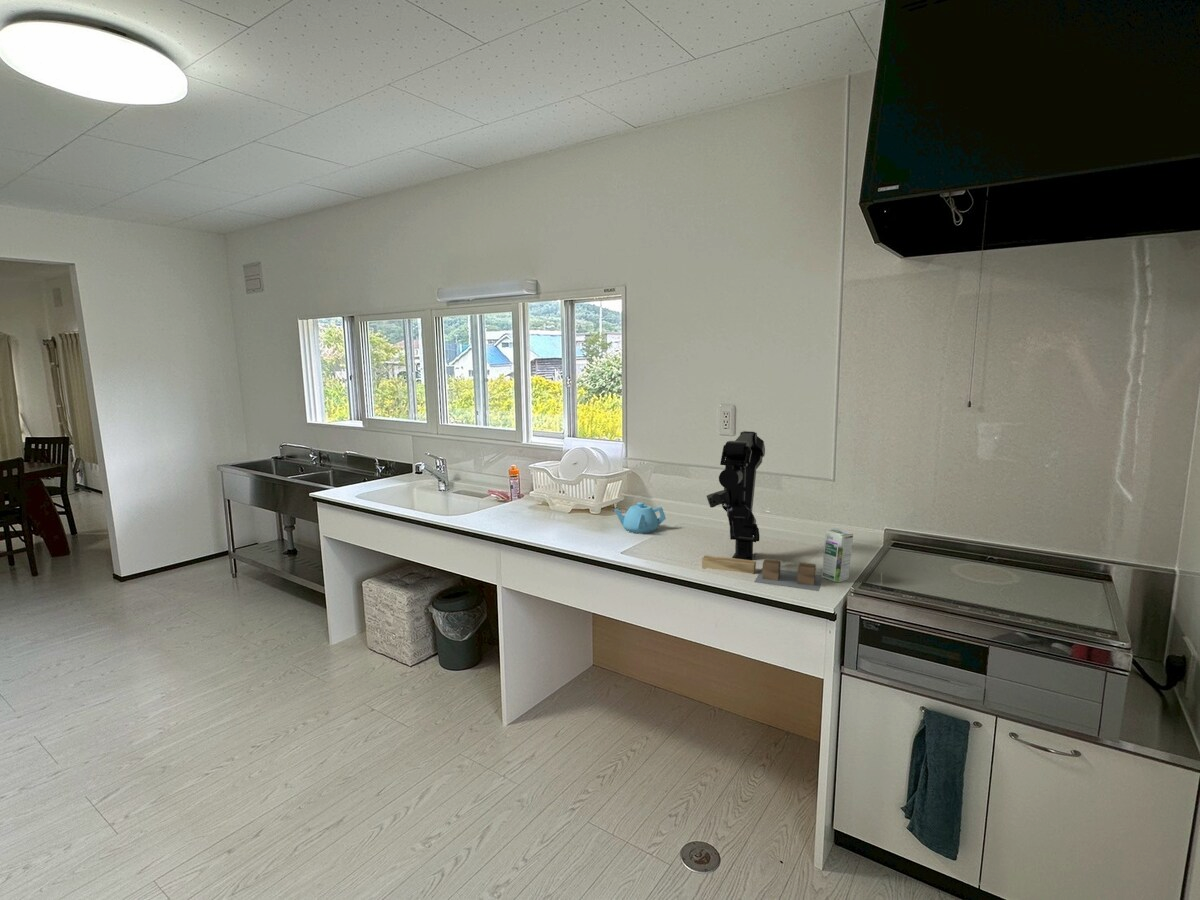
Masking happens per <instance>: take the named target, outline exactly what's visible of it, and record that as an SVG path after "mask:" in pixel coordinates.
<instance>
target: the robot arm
mask: <svg viewBox="0 0 1200 900" xmlns="http://www.w3.org/2000/svg"><path fill="white" fill-rule="evenodd" d="M765 454H766V446H765V441H764V440H763V439H761V437H759V436H758V433H757V432H755V431H751V430H750V431H744V430H743V431H740V434H739V436H738V437H737V438H736V439H735V440H729V441H726V442H725V444H723V448H722V452H721V457H720V466H725V467H724V469H723V470H722V471H721V472H720V473H719V475H718V482H719V484H720V486H721V487H722V488H723V489H722V490H718V491H716V492H712V493H709V494H707V495H706V500H707V502H708V505H709V508H710V509H711V508H712V509H713V508H715V507H716V506H720V505H721V507H722V508H723V510H724V511H725V512H726V514H727V515H726V516H727V518H728V524H729V535H730V536H729V537H730V541H731V540H734V542H735V550H734V551H735V552H734V554H733V555H732V557H731V558H735V559H744V560H752V561H754V558H755V557H756V553H754V543H757V542H760V530H759V527H758V523H757V519H756V517H755V515H754V513H753V509H754V508H753V506H754V498H755V485H756V477H757V469H758V468H759V467H760V466H761V465H762V463H763V458H764V457H765Z"/></svg>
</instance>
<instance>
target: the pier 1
mask: <svg viewBox="0 0 1200 900" xmlns="http://www.w3.org/2000/svg"><path fill="white" fill-rule="evenodd" d="M781 561H782V560H781V559H775V558H764V560H763V562H762V568H763V575H762V579H767V580H775V581H778V580H779V577H780V570H781Z"/></svg>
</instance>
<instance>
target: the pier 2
mask: <svg viewBox="0 0 1200 900" xmlns="http://www.w3.org/2000/svg"><path fill="white" fill-rule="evenodd" d="M816 565H817V564H815V563H806V562H799V564H798V566H797V572H798V579H797V584H804V585H812V586H814V582H815V574H816V568H817V567H816Z"/></svg>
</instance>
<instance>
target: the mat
mask: <svg viewBox="0 0 1200 900" xmlns="http://www.w3.org/2000/svg"><path fill="white" fill-rule="evenodd" d="M762 575H763V567H761V569H760V571H759V573H758V574H757V577H755V580H754V583H755V584H756V583H757V584H765V585H770V586H772V585H773V586H778V587H784V588H785V587H786V588H793V589H799V590H800V589H801V590H807V591H816V592H819V591H820V589H821V584H822V581H823V578H822V574H816V573H815V582H814V586H812V585H804V584H797V579H798V571H792V570H791V571H790V570H784V569H780V577H779V580H778V581H775V580H767V579H762Z"/></svg>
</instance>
